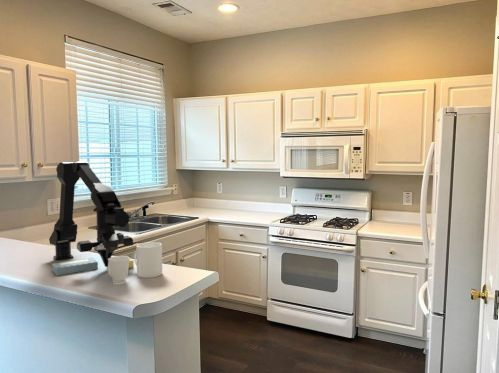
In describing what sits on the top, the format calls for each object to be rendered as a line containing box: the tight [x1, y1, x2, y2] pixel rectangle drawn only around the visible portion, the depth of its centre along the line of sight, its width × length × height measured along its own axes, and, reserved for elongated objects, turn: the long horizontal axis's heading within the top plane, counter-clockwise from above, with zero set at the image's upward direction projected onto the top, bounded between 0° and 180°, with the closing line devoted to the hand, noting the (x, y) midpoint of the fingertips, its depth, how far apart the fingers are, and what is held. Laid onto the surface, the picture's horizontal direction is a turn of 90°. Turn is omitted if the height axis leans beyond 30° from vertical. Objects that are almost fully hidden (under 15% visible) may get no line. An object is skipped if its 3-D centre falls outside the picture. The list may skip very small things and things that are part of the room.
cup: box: [107, 255, 131, 285], centre depth 129 cm, size 7×10×8 cm
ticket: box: [51, 257, 99, 276], centre depth 143 cm, size 8×14×3 cm, turn 126°
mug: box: [133, 241, 163, 279], centre depth 137 cm, size 9×12×11 cm
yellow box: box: [128, 258, 135, 269], centre depth 145 cm, size 6×8×3 cm
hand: (106, 266), depth 142 cm, fingers closed
